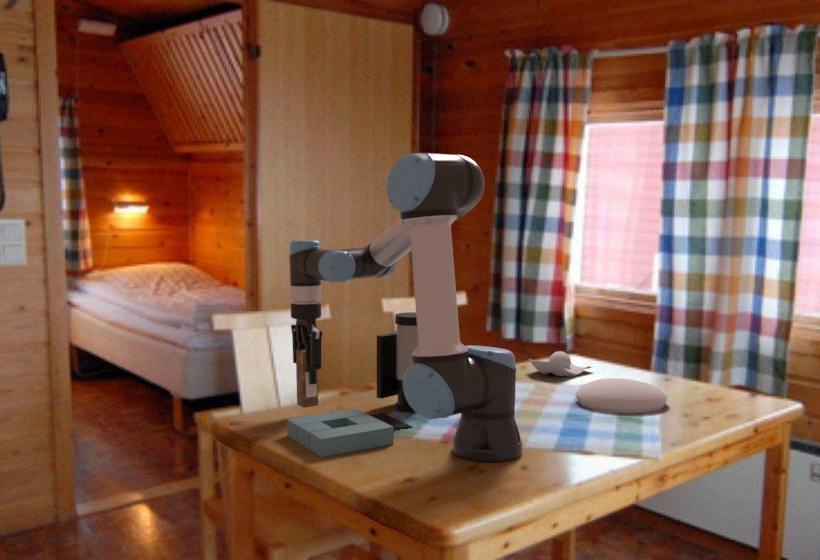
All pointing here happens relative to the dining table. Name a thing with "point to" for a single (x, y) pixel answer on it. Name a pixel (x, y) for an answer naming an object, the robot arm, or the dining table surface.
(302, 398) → the walnut peg
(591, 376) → the dining table surface
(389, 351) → the light fixture
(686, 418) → the dining table surface
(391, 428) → the socket block
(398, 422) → the smartphone
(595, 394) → the decorative item
